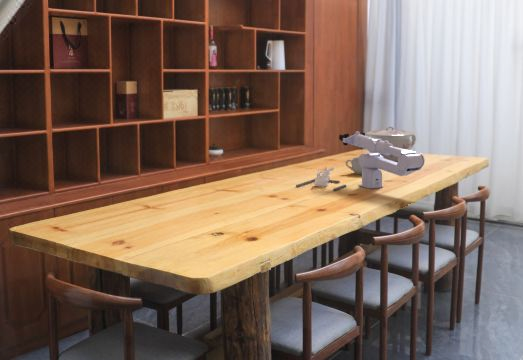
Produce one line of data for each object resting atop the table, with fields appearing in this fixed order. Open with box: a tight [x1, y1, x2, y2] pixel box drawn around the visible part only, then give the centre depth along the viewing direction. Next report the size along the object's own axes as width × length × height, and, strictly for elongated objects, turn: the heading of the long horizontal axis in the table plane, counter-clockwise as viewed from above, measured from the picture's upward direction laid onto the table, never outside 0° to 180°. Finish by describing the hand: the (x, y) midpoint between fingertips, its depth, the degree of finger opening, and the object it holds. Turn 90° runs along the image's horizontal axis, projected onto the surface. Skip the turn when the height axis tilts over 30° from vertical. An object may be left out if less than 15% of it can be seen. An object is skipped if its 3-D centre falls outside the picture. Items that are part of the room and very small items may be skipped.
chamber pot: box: [365, 125, 417, 163], centre depth 385 cm, size 28×28×21 cm
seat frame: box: [295, 178, 347, 192], centre depth 311 cm, size 20×21×1 cm
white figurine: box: [313, 166, 335, 188], centre depth 310 cm, size 12×8×10 cm, turn 134°
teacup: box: [345, 156, 362, 176], centre depth 344 cm, size 14×11×8 cm
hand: (346, 136), depth 321 cm, fingers open, 7 cm apart
